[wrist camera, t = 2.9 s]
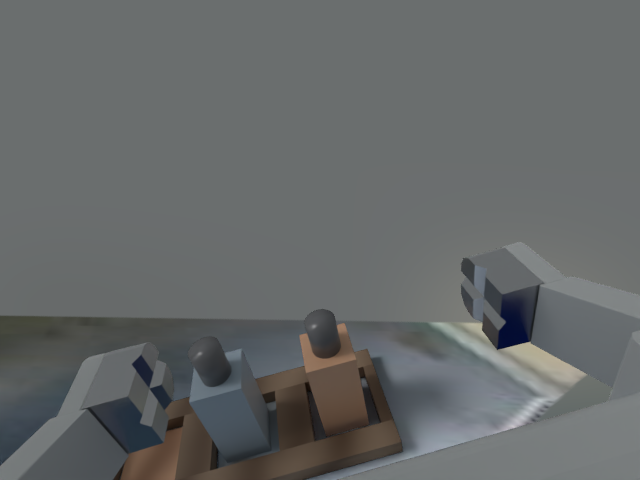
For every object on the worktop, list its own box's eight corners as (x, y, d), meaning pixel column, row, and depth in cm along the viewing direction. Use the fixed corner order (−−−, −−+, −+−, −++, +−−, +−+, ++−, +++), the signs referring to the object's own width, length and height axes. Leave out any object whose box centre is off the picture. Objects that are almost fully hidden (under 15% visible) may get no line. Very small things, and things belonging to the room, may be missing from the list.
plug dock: (91, 540, 30) (82, 532, 29) (125, 424, 38) (118, 416, 37) (402, 451, 31) (401, 441, 30) (368, 358, 40) (367, 348, 39)
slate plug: (227, 463, 33) (173, 377, 26) (228, 421, 36) (181, 336, 30) (271, 450, 33) (228, 362, 27) (268, 410, 36) (230, 323, 30)
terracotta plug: (326, 436, 33) (297, 346, 27) (318, 398, 37) (291, 309, 30) (369, 424, 34) (350, 332, 27) (357, 387, 37) (339, 297, 30)
